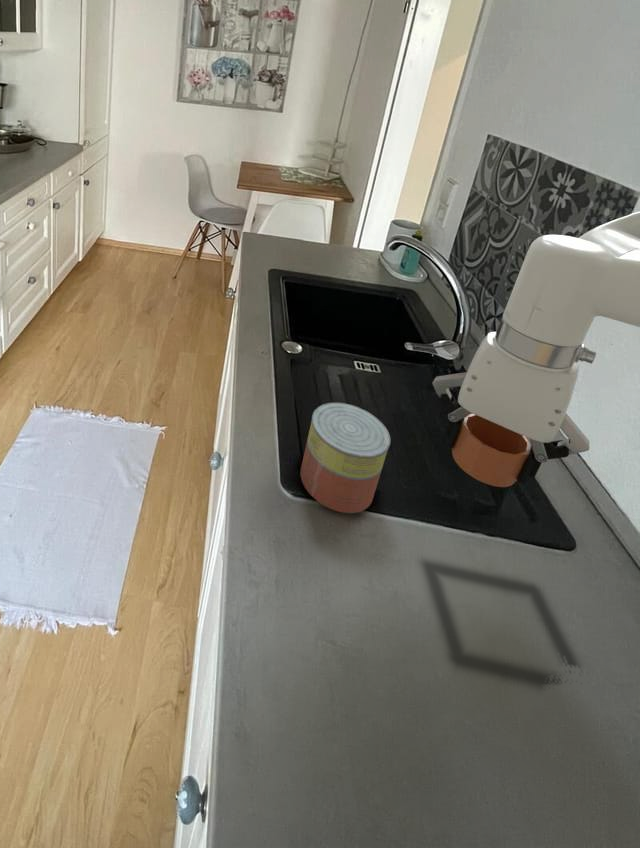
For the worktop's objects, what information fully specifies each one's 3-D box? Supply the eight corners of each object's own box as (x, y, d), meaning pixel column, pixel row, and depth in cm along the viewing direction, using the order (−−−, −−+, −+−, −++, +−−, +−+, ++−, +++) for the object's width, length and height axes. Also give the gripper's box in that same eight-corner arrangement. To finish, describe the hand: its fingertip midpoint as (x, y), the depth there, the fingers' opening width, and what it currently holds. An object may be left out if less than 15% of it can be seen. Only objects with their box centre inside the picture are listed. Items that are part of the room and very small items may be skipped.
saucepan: (512, 497, 59) (527, 466, 58) (446, 464, 64) (458, 433, 62) (524, 438, 69) (537, 409, 67) (466, 412, 73) (476, 384, 71)
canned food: (375, 476, 82) (392, 418, 78) (369, 530, 73) (388, 468, 68) (306, 450, 87) (318, 393, 82) (291, 498, 77) (305, 437, 73)
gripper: (632, 361, 55) (569, 480, 62) (457, 302, 65) (420, 410, 72) (636, 393, 49) (567, 520, 56) (444, 324, 59) (405, 439, 66)
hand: (485, 458), depth 64 cm, fingers closed on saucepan, 7 cm apart
